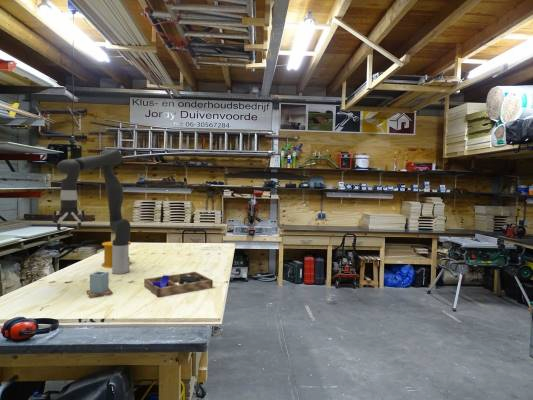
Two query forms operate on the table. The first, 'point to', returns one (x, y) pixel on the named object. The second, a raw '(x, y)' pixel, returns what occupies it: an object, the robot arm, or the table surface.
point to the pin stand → (99, 293)
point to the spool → (108, 254)
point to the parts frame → (176, 288)
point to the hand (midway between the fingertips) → (69, 230)
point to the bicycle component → (189, 279)
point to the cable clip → (162, 282)
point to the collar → (99, 282)
